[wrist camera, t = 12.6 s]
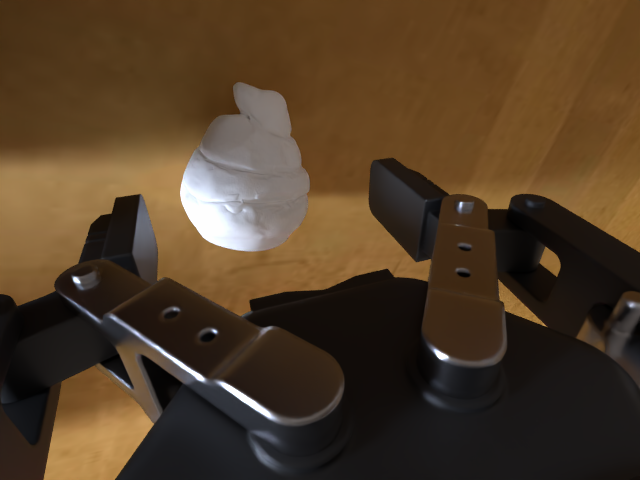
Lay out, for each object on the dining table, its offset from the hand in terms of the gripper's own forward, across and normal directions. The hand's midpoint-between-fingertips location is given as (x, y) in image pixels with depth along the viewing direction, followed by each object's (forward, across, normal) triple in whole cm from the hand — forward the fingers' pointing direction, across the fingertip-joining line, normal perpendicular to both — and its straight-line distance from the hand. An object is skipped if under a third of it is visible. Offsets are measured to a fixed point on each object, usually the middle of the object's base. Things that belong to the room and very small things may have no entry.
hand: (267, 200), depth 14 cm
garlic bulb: (+6, 0, 0) cm, 6 cm away
